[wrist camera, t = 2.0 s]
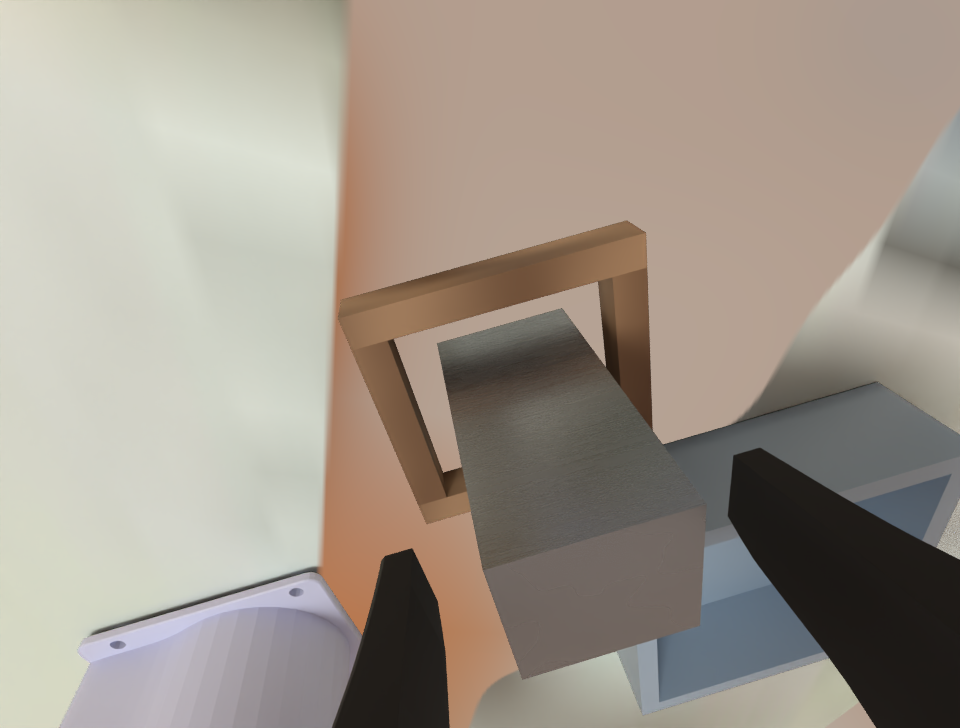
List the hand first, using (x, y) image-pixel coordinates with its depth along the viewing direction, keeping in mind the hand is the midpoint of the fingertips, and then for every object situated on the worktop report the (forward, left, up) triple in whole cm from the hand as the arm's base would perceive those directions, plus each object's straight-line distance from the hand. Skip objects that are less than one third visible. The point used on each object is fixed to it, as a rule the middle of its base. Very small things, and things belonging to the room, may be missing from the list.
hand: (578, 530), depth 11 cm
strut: (0, 0, -6) cm, 6 cm away
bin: (+8, -11, -6) cm, 15 cm away
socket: (0, 0, -6) cm, 6 cm away
